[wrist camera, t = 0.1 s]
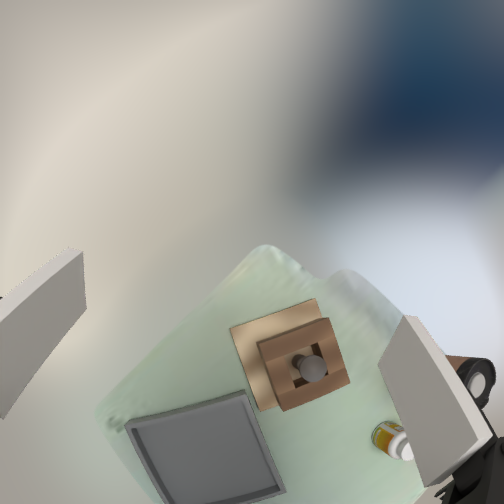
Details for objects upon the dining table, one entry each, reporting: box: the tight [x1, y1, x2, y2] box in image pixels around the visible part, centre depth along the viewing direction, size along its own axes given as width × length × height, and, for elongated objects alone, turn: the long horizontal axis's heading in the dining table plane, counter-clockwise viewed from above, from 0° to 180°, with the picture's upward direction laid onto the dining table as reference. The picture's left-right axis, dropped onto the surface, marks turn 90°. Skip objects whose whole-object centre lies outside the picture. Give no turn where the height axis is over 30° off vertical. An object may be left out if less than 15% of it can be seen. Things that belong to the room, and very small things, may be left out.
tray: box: [124, 390, 286, 504], centre depth 39 cm, size 20×20×3 cm
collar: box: [256, 318, 350, 412], centre depth 36 cm, size 9×9×4 cm
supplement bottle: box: [372, 421, 414, 461], centre depth 38 cm, size 5×5×10 cm
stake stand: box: [230, 298, 327, 412], centre depth 38 cm, size 14×14×15 cm
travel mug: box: [445, 355, 496, 410], centre depth 36 cm, size 8×8×20 cm
